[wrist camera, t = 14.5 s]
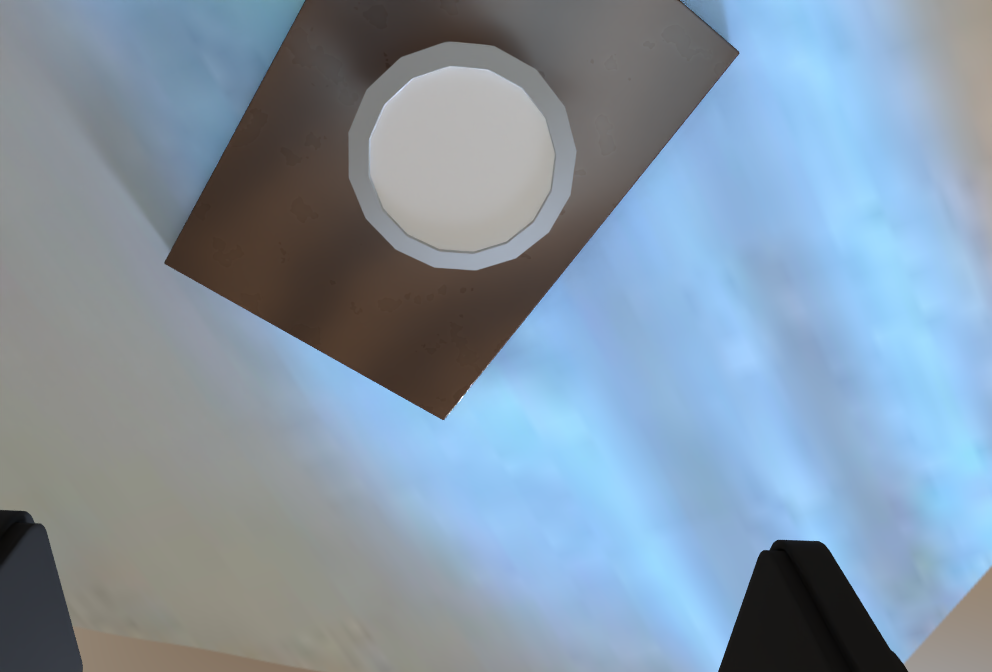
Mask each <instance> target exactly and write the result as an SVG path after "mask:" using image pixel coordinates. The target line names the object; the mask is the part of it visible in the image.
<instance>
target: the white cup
mask: <svg viewBox="0 0 992 672" xmlns="http://www.w3.org/2000/svg"><path fill="white" fill-rule="evenodd" d="M348 136H349V180H350V182H351V184H352V187H353V189H354V192H355V194H356V196H357V199H358V201H359V204H360V206H361V208H362V211H363V213H364V216H365V218H366V219H367V220H368V221H369V222H370V223H371V225H372V226H373V227H374V228H375V229H376V230H377V231H378V232H379V233H380V234H381V235H382V236H383V237H384V238H385V239H386V240H387V241H388V242H389V243H390V244H391V245H392V246H393V247H394V248H395V249H396V250H398V251H400V252H402V253H404V254H406V255H408V256H411V257H413V258H415V259H417V260H419V261H421V262H424V263H426V264H428V265H430V266H432V267H434V268H448V269H463V270H479V269H483V268H486V267H489V266H492V265H496V264H499V263H502V262H505V261H509V260H512V259H515V258H517V257H518V256H520V255H521V254H522V253H523V252H525V251H526V250H527V249H528V248H530V247H531V246H532V245H533V244H535V243H536V242H537V241H539V240H540V239H541V238H542V237H544V236H545V235H546V234H547V233H549V231H550V230H551V228H552V226H553V224H554V223H555V221H556V219H557V218H558V216H559V214H560V212H561V211H562V209H563V207H564V205H565V204H566V202H567V200H568V199H569V197H570V195H571V188H572V181H573V173H574V166H575V159H576V152H577V151H576V147H575V143H574V139H573V136H572V132H571V128H570V124H569V120H568V116H567V112H566V109H565V106H564V105H563V104H562V102H561V101H560V100H559V98H558V97H557V96H556V94H555V93H554V92H553V91H552V89H551V88H550V87H549V85H548V84H547V83H546V81H545V80H544V79H543V77H542V76H541V75H540V74H539V72H538V71H537V70H536V69H535V68H533V67H531V66H529V65H527V64H526V63H524V62H522V61H520V60H518V59H517V58H515V57H513V56H511V55H509V54H508V53H506V52H504V51H502V50H501V49H499V48H497V47H495V46H490V45H483V44H472V43H461V42H444V43H441V44H438V45H435V46H432V47H429V48H426V49H423V50H421V51H418V52H415V53H412V54H409V55H406V56H403V57H401V58H400V59H398V60H397V61H396V62H395V63H394V64H393V65H392V66H391V67H390V68H389V69H388V70H387V71H386V72H385V73H384V74H383V75H382V76H380V77H379V78H378V79H377V80H376V81H375V82H374V83H373V84H372V85H371V86H370V87H369V88H368V89H367V90H366V92H365V94H364V97H363V99H362V101H361V104H360V106H359V109H358V111H357V113H356V116H355V118H354V121H353V123H352V125H351V128H350V130H349V132H348Z"/></svg>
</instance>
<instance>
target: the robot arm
mask: <svg viewBox="0 0 992 672" xmlns="http://www.w3.org/2000/svg"><path fill="white" fill-rule="evenodd" d="M82 671H83V665H82V660H81V656H80V652H79V649H78V645H77V641H76V638H75V635H74V631H73V627H72V623H71V619H70V616H69V612H68V608H67V605H66V601H65V598H64V594H63V590H62V587H61V583H60V579H59V576H58V572H57V568H56V565H55V561H54V557H53V554H52V550H51V546H50V543H49V539H48V535H47V532H46V529H45V527H44V526H43V525H42V524H38V523H34V520H33V518H32V516H31V515H30V514H29V513H28V512H26V511H9V510H0V672H82ZM718 672H908V671H907V669H906V667H905V666H904V664H903V663H902V662H901V660H900V659H899V658H898V657H897V655H896V654H895V653H894V652H893V651H891V650H890V648H889V647H888V645H887V643H886V642H885V640H884V638H883V637H882V635H881V634H880V632H879V630H878V629H877V627H876V625H875V624H874V622H873V621H872V619H871V617H870V616H869V614H868V612H867V611H866V609H865V608H864V606H863V604H862V603H861V601H860V599H859V598H858V596H857V595H856V593H855V591H854V590H853V588H852V586H851V585H850V583H849V582H848V580H847V578H846V577H845V575H844V573H843V572H842V570H841V569H840V567H839V565H838V564H837V562H836V560H835V559H834V557H833V556H832V554H831V552H830V551H829V549H828V548H827V547H826V546H825V544H823V543H821V542H820V541H797V540H777V541H775V542H774V543H773V544H772V546H771V548H770V550H763V551H762V552H761V553H760V555H759V557H758V559H757V562H756V565H755V568H754V571H753V574H752V577H751V579H750V582H749V585H748V588H747V591H746V594H745V597H744V599H743V602H742V605H741V608H740V611H739V614H738V617H737V620H736V622H735V625H734V628H733V631H732V634H731V637H730V640H729V642H728V645H727V648H726V651H725V654H724V657H723V660H722V662H721V665H720V668H719V671H718Z"/></svg>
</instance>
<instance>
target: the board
mask: <svg viewBox="0 0 992 672" xmlns="http://www.w3.org/2000/svg"><path fill="white" fill-rule="evenodd" d="M444 42H461V43H472V44H483V45H490V46H495V47H497V48H499V49H501V50H502V51H504V52H506V53H508V54H509V55H511V56H513V57H515V58H517V59H518V60H520V61H522V62H524V63H526V64H527V65H529V66H531V67H533V68H535V69H536V70H537V71H538V72H539V74H540V75H541V76H542V77H543V79H544V80H545V81H546V83H547V84H548V85H549V87H550V88H551V89H552V91H553V92H554V93H555V94H556V96H557V97H558V98H559V100H560V101H561V102H562V104H563V105H564V106H565V109H566V112H567V116H568V120H569V124H570V128H571V132H572V136H573V139H574V143H575V147H576V151H577V152H576V159H575V166H574V173H573V181H572V188H571V195H570V197H569V199H568V200H567V202H566V204H565V205H564V207H563V209H562V211H561V212H560V214H559V216H558V218H557V219H556V221H555V223H554V224H553V226H552V228H551V230H550V231H549V233H547V234H546V235H545V236H544V237H542V238H541V239H540V240H539V241H537V242H536V243H535V244H533V245H532V246H531V247H530V248H528V249H527V250H526V251H525V252H523V253H522V254H521V255H520V256H518V257H517V258H515V259H512V260H509V261H505V262H502V263H499V264H496V265H492V266H489V267H486V268H483V269H479V270H463V269H448V268H434V267H432V266H430V265H428V264H426V263H424V262H421V261H419V260H417V259H415V258H413V257H411V256H408V255H406V254H404V253H402V252H400V251H398V250H396V249H395V248H394V247H393V246H392V245H391V244H390V243H389V242H388V241H387V240H386V239H385V238H384V237H383V236H382V235H381V234H380V233H379V232H378V231H377V230H376V229H375V228H374V227H373V226H372V225H371V223H370V222H369V221H368V220H367V219H366V218H365V216H364V213H363V211H362V208H361V206H360V204H359V201H358V199H357V196H356V194H355V192H354V189H353V187H352V184H351V182H350V180H349V136H348V132H349V130H350V128H351V125H352V123H353V121H354V118H355V116H356V113H357V111H358V109H359V106H360V104H361V101H362V99H363V97H364V94H365V92H366V90H367V89H368V88H369V87H370V86H371V85H372V84H373V83H374V82H375V81H376V80H377V79H378V78H379V77H380V76H382V75H383V74H384V73H385V72H386V71H387V70H388V69H389V68H390V67H391V66H392V65H393V64H394V63H395V62H396V61H397V60H398V59H400V58H401V57H403V56H406V55H409V54H412V53H415V52H418V51H421V50H423V49H426V48H429V47H432V46H435V45H438V44H441V43H444ZM738 55H739V51H738V50H737V49H735V48H734V47H733V46H732V45H731V44H730V43H728V42H727V41H726V40H725V39H724V38H723V37H722V36H720V35H719V34H718V33H717V32H716V31H715V30H713V29H712V28H711V27H710V26H709V25H708V24H707V23H705V22H704V21H703V20H702V19H701V18H700V17H698V16H697V15H696V14H695V13H694V12H693V11H692V10H690V9H689V8H688V7H687V6H686V5H685V4H683V3H682V2H681V1H680V0H305V2H304V4H303V6H302V8H301V10H300V12H299V13H298V15H297V17H296V19H295V21H294V23H293V25H292V26H291V28H290V30H289V32H288V34H287V36H286V38H285V39H284V41H283V43H282V45H281V47H280V49H279V51H278V52H277V54H276V56H275V58H274V60H273V62H272V64H271V65H270V67H269V69H268V71H267V73H266V75H265V77H264V78H263V80H262V82H261V84H260V86H259V88H258V90H257V91H256V93H255V95H254V97H253V99H252V101H251V103H250V104H249V106H248V108H247V110H246V112H245V114H244V116H243V117H242V119H241V121H240V123H239V125H238V127H237V129H236V130H235V132H234V134H233V136H232V138H231V140H230V142H229V143H228V145H227V147H226V149H225V151H224V153H223V155H222V156H221V158H220V160H219V162H218V164H217V166H216V168H215V169H214V171H213V173H212V175H211V177H210V179H209V181H208V182H207V184H206V186H205V188H204V190H203V192H202V194H201V195H200V197H199V199H198V201H197V203H196V205H195V207H194V208H193V210H192V212H191V214H190V216H189V218H188V220H187V221H186V223H185V225H184V227H183V229H182V231H181V233H180V234H179V236H178V238H177V240H176V242H175V244H174V246H173V247H172V249H171V251H170V253H169V255H168V257H167V259H166V260H165V264H166V265H168V266H170V267H171V268H173V269H175V270H177V271H179V272H180V273H182V274H184V275H186V276H187V277H189V278H191V279H193V280H195V281H196V282H198V283H200V284H202V285H203V286H205V287H207V288H209V289H211V290H212V291H214V292H216V293H218V294H219V295H221V296H223V297H225V298H227V299H228V300H230V301H232V302H234V303H235V304H237V305H239V306H241V307H243V308H244V309H246V310H248V311H250V312H251V313H253V314H255V315H257V316H259V317H260V318H262V319H264V320H266V321H267V322H269V323H271V324H273V325H275V326H276V327H278V328H280V329H282V330H283V331H285V332H287V333H289V334H291V335H292V336H294V337H296V338H298V339H299V340H301V341H303V342H305V343H307V344H308V345H310V346H312V347H314V348H315V349H317V350H319V351H321V352H323V353H324V354H326V355H328V356H330V357H332V358H333V359H335V360H337V361H339V362H340V363H342V364H344V365H346V366H348V367H349V368H351V369H353V370H355V371H356V372H358V373H360V374H362V375H364V376H365V377H367V378H369V379H371V380H372V381H374V382H376V383H378V384H380V385H381V386H383V387H385V388H387V389H388V390H390V391H392V392H394V393H396V394H397V395H399V396H401V397H403V398H404V399H406V400H408V401H410V402H412V403H413V404H415V405H417V406H419V407H420V408H422V409H424V410H426V411H428V412H429V413H431V414H433V415H435V416H436V417H438V418H440V419H442V420H444V419H445V418H446V417H447V416H448V415H449V413H450V412H451V411H452V410H453V408H454V407H455V406H456V405H457V403H458V402H459V401H460V400H461V398H462V397H463V396H464V395H465V393H466V392H467V391H468V390H469V388H470V387H471V386H472V385H473V383H474V382H475V381H476V380H477V379H478V377H479V376H480V375H481V374H482V372H483V371H484V370H485V369H486V367H487V366H488V365H489V364H490V362H491V361H492V360H493V359H494V357H495V356H496V355H497V354H498V352H499V351H500V350H501V349H502V347H503V346H504V345H505V344H506V343H507V341H508V340H509V339H510V338H511V336H512V335H513V334H514V333H515V331H516V330H517V329H518V328H519V326H520V325H521V324H522V323H523V321H524V320H525V319H526V318H527V316H528V315H529V314H530V313H531V311H532V310H533V309H534V308H535V307H536V305H537V304H538V303H539V302H540V300H541V299H542V298H543V297H544V295H545V294H546V293H547V292H548V290H549V289H550V288H551V287H552V285H553V284H554V283H555V282H556V280H557V279H558V278H559V277H560V275H561V274H562V273H563V272H564V271H565V269H566V268H567V267H568V266H569V264H570V263H571V262H572V261H573V259H574V258H575V257H576V256H577V254H578V253H579V252H580V251H581V249H582V248H583V247H584V246H585V244H586V243H587V242H588V241H589V239H590V238H591V237H592V236H593V235H594V233H595V232H596V231H597V230H598V228H599V227H600V226H601V225H602V223H603V222H604V221H605V220H606V218H607V217H608V216H609V215H610V213H611V212H612V211H613V210H614V208H615V207H616V206H617V205H618V203H619V202H620V201H621V200H622V199H623V197H624V196H625V195H626V194H627V192H628V191H629V190H630V189H631V187H632V186H633V185H634V184H635V182H636V181H637V180H638V179H639V177H640V176H641V175H642V174H643V172H644V171H645V170H646V169H647V167H648V166H649V165H650V164H651V163H652V161H653V160H654V159H655V158H656V156H657V155H658V154H659V153H660V151H661V150H662V149H663V148H664V146H665V145H666V144H667V143H668V141H669V140H670V139H671V138H672V136H673V135H674V134H675V133H676V131H677V130H678V129H679V128H680V127H681V125H682V124H683V123H684V122H685V120H686V119H687V118H688V117H689V115H690V114H691V113H692V112H693V110H694V109H695V108H696V107H697V105H698V104H699V103H700V102H701V100H702V99H703V98H704V97H705V95H706V94H707V93H708V92H709V91H710V89H711V88H712V87H713V86H714V84H715V83H716V82H717V81H718V79H719V78H720V77H721V76H722V74H723V73H724V72H725V71H726V69H727V68H728V67H729V66H730V64H731V63H732V62H733V61H734V59H735V58H736V57H737V56H738Z"/></svg>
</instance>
